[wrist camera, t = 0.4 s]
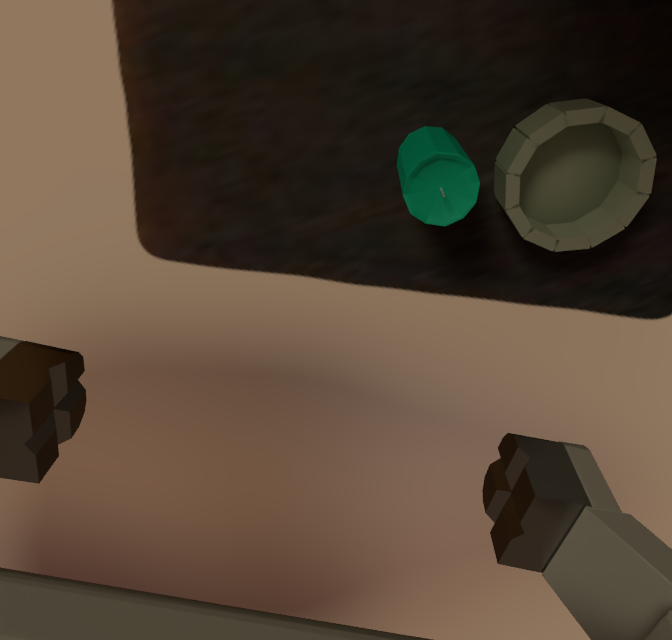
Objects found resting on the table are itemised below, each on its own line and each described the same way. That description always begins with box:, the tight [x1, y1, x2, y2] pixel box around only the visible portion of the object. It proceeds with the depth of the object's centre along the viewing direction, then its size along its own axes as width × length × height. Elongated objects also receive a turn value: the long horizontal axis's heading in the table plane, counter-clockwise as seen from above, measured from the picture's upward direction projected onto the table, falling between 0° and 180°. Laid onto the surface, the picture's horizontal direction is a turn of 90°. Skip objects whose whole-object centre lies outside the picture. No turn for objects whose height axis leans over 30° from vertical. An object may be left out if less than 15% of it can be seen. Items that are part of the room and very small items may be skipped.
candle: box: [397, 126, 480, 226], centre depth 45 cm, size 6×6×12 cm
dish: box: [494, 98, 657, 252], centre depth 48 cm, size 12×12×5 cm
